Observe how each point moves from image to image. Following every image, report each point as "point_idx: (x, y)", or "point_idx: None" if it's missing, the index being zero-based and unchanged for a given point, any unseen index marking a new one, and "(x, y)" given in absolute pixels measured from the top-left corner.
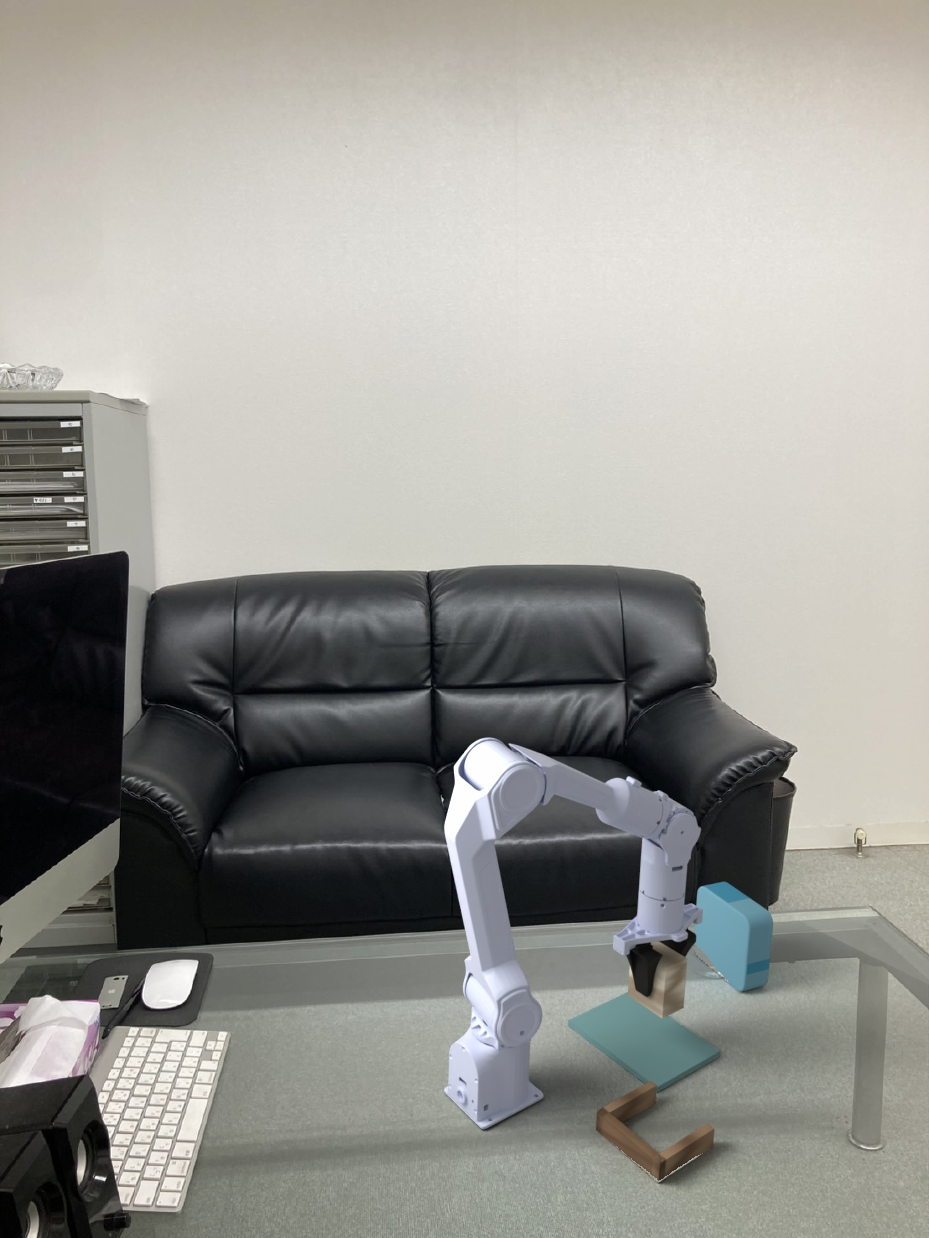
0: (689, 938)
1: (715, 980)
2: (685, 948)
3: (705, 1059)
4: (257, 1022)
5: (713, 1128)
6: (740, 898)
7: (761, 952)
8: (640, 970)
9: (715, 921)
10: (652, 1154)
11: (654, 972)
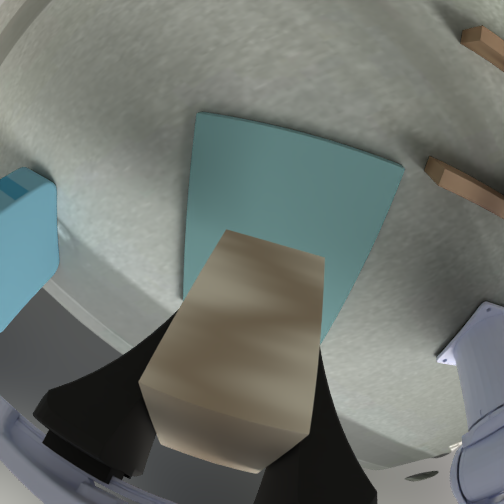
0: (72, 442)
1: (65, 223)
2: (111, 410)
3: (246, 122)
4: (436, 446)
5: (484, 27)
6: None
7: None
8: None
9: (7, 284)
10: None
11: None
